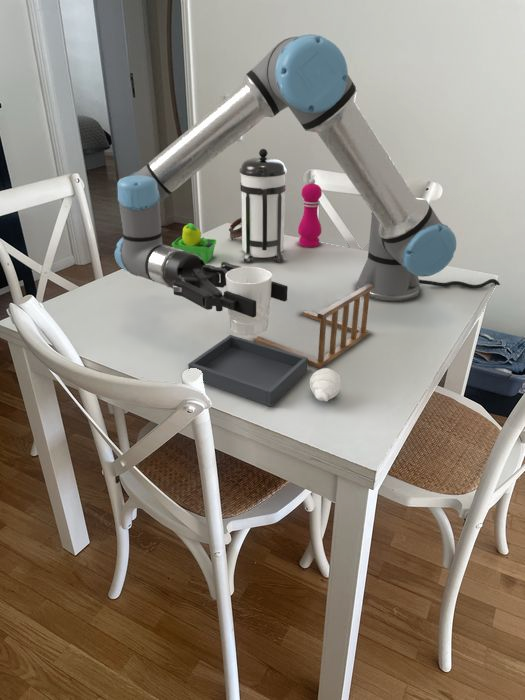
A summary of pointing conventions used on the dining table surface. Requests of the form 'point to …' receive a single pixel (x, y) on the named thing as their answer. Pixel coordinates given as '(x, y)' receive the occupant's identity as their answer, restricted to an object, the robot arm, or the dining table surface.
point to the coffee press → (263, 207)
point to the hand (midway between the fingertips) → (270, 301)
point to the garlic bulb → (325, 384)
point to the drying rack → (334, 327)
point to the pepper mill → (310, 215)
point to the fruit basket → (195, 243)
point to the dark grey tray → (250, 369)
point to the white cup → (254, 287)
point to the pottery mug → (236, 232)
